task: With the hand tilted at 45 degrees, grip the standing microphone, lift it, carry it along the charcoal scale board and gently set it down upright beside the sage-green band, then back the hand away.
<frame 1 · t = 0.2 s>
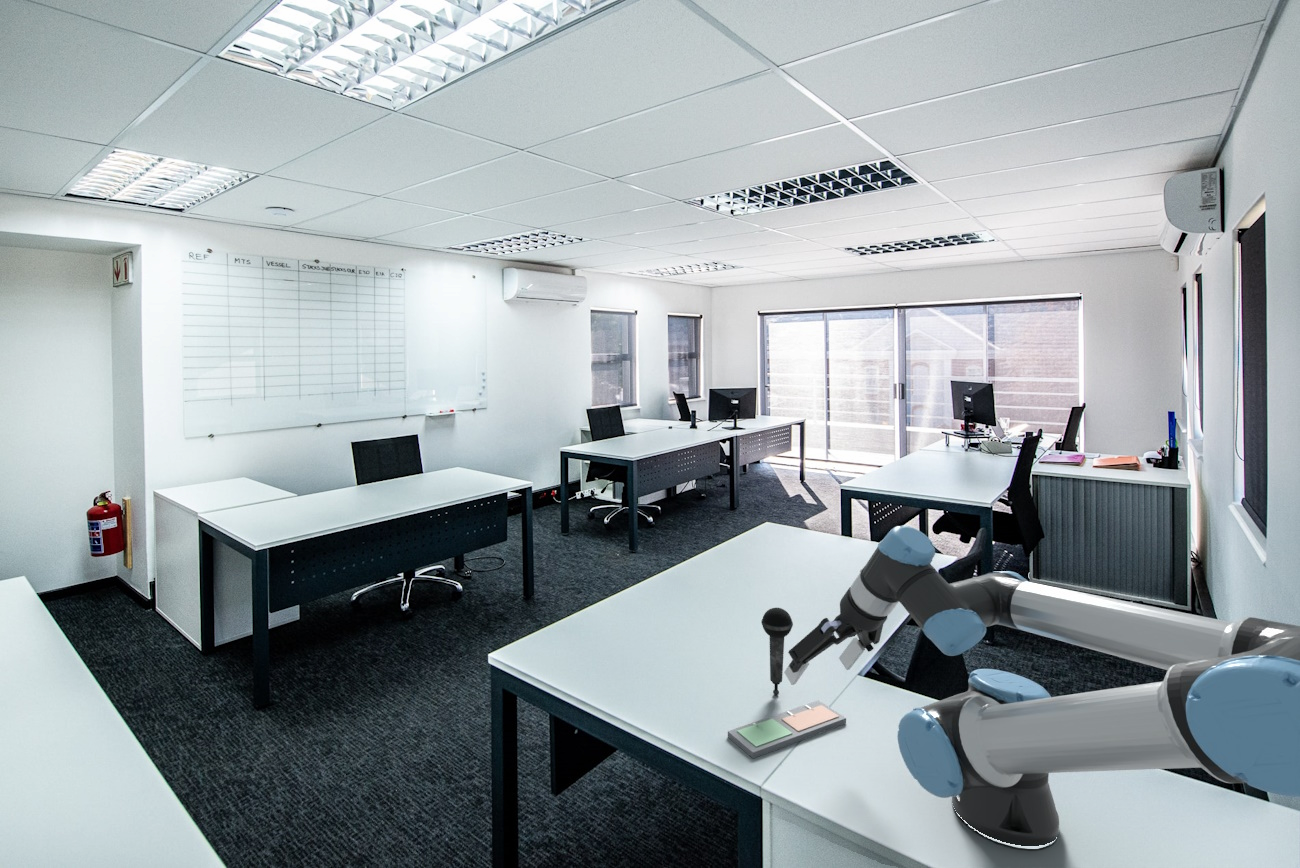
hand: (817, 670, 120), 15 cm above the table, tool tilted 35°, fingers open, 13 cm apart
microphone: (775, 695, 141), on the table
scale board: (787, 730, 127), on the table
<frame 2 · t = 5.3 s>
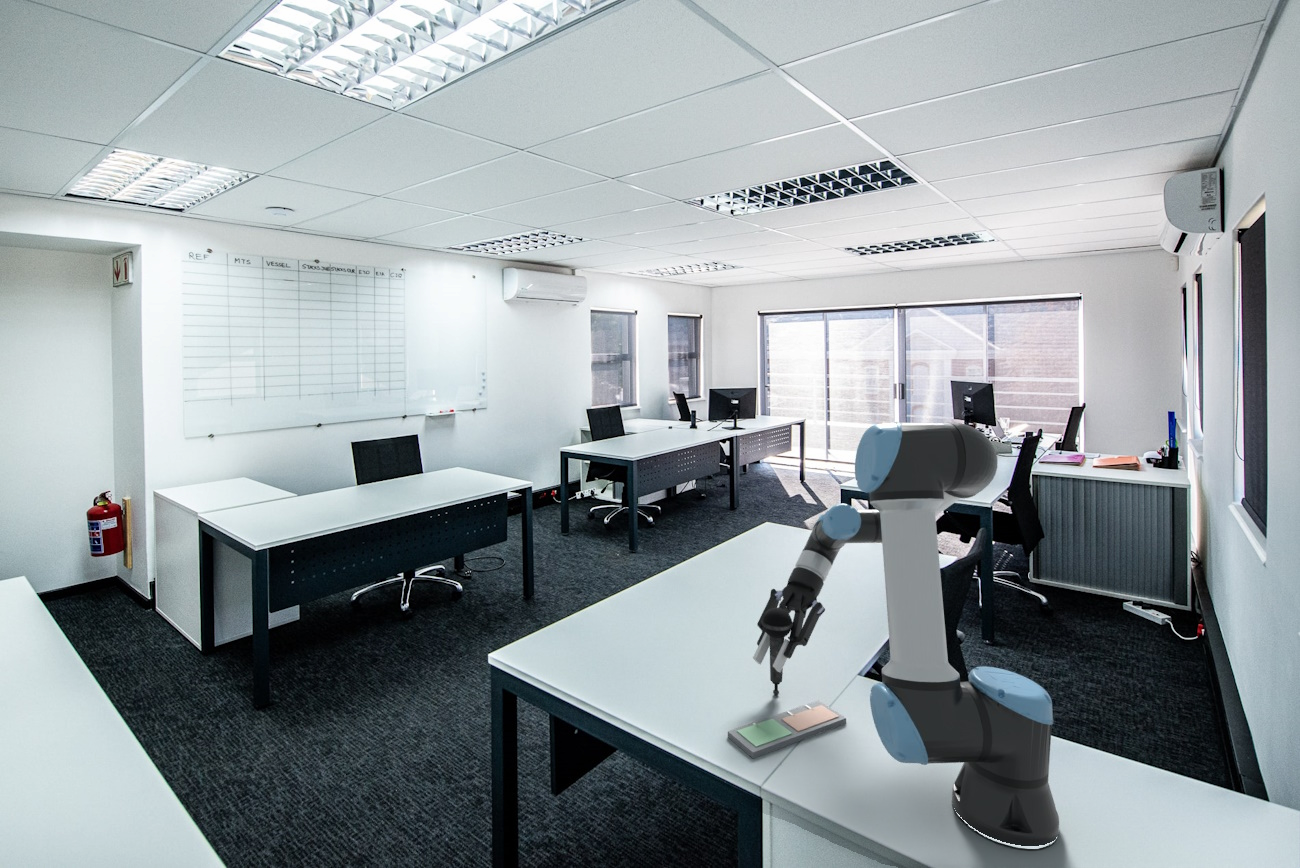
hand: (766, 665, 137), 8 cm above the table, tool tilted 45°, fingers closed on microphone, 5 cm apart
microphone: (776, 695, 141), on the table, touching gripper
when the fingers open (8 cm above the table, at t = 11.4 s): microphone stays where it is, on the table.
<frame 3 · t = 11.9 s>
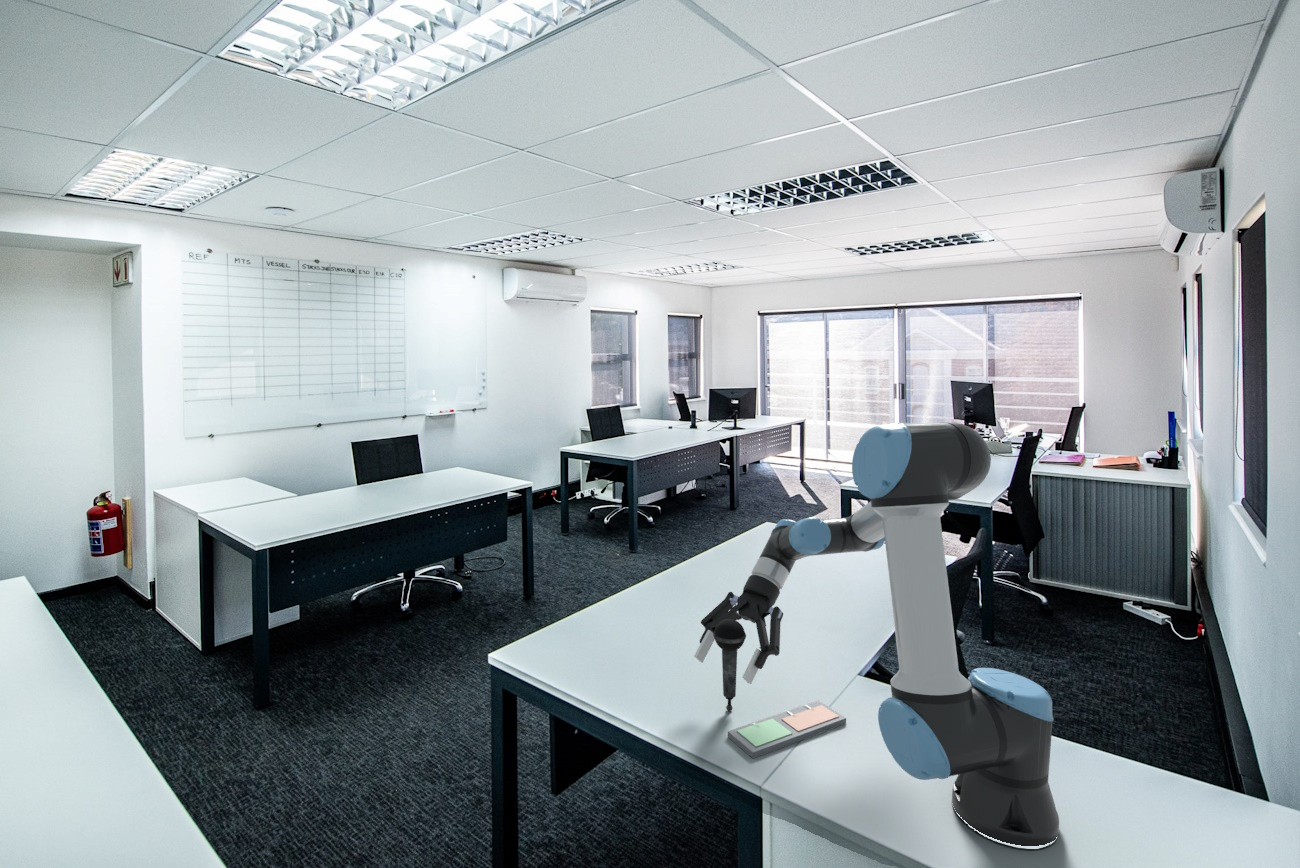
hand: (721, 670, 132), 10 cm above the table, tool tilted 45°, fingers open, 12 cm apart
microphone: (729, 711, 134), on the table
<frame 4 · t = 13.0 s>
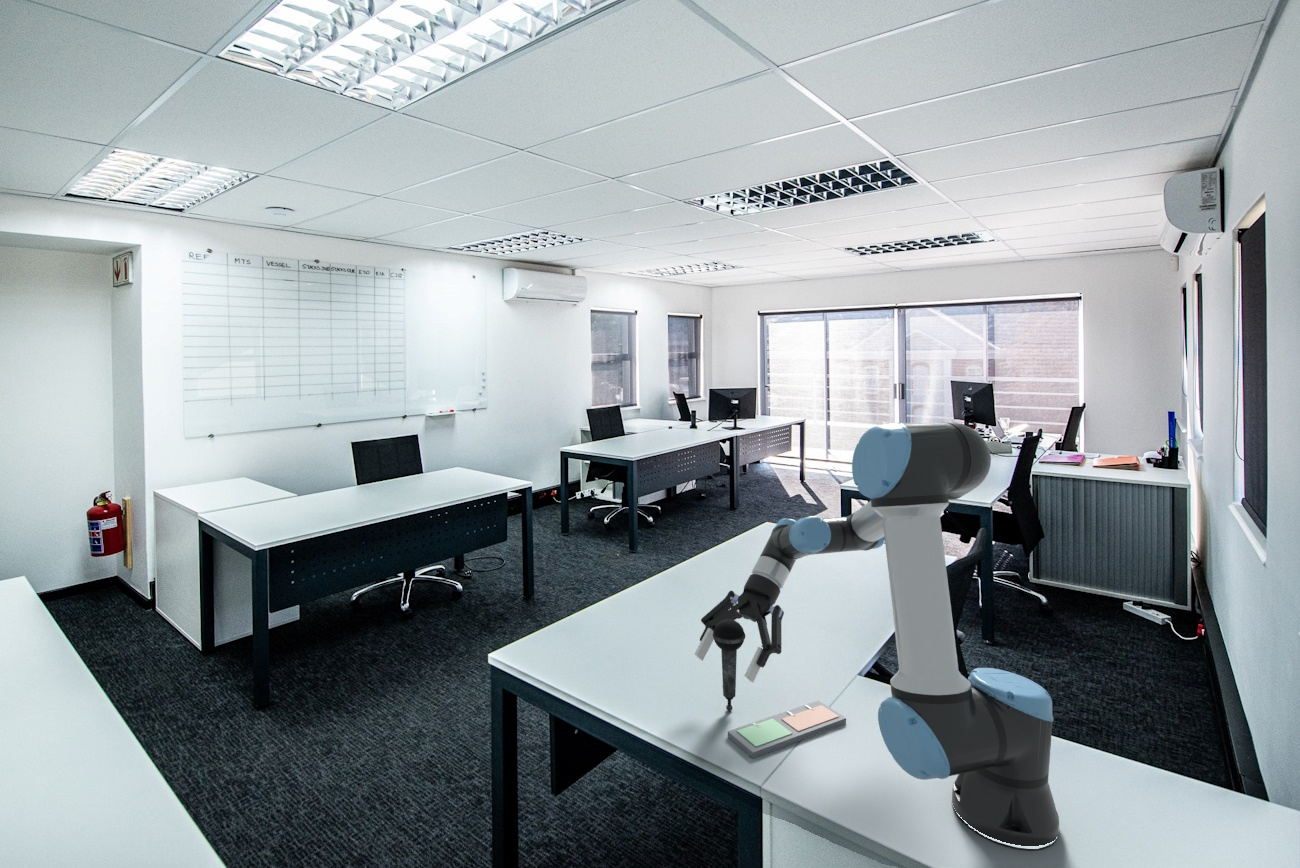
hand: (722, 668, 132), 10 cm above the table, tool tilted 45°, fingers open, 13 cm apart
nothing on the table moved.
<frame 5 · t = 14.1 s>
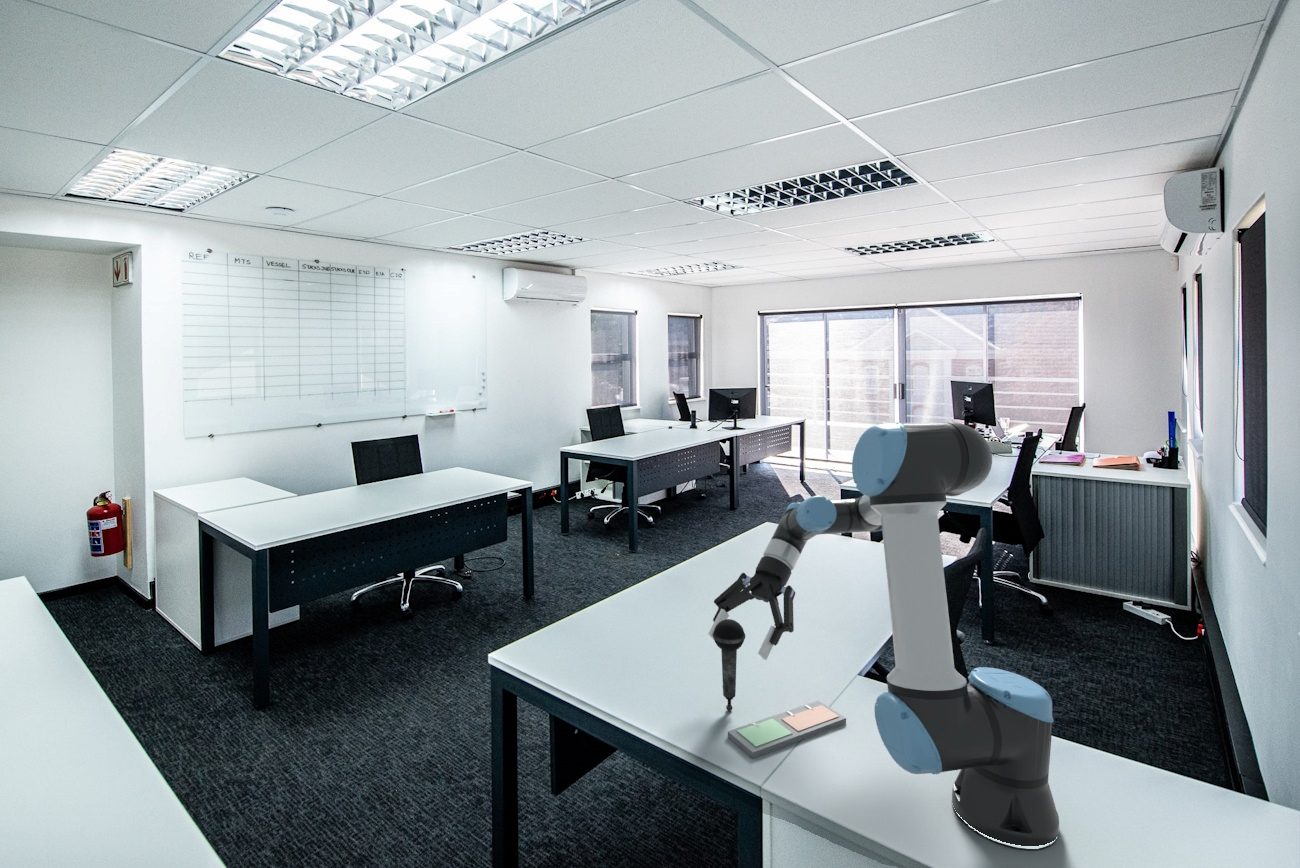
hand: (736, 646, 136), 13 cm above the table, tool tilted 45°, fingers open, 13 cm apart
nothing on the table moved.
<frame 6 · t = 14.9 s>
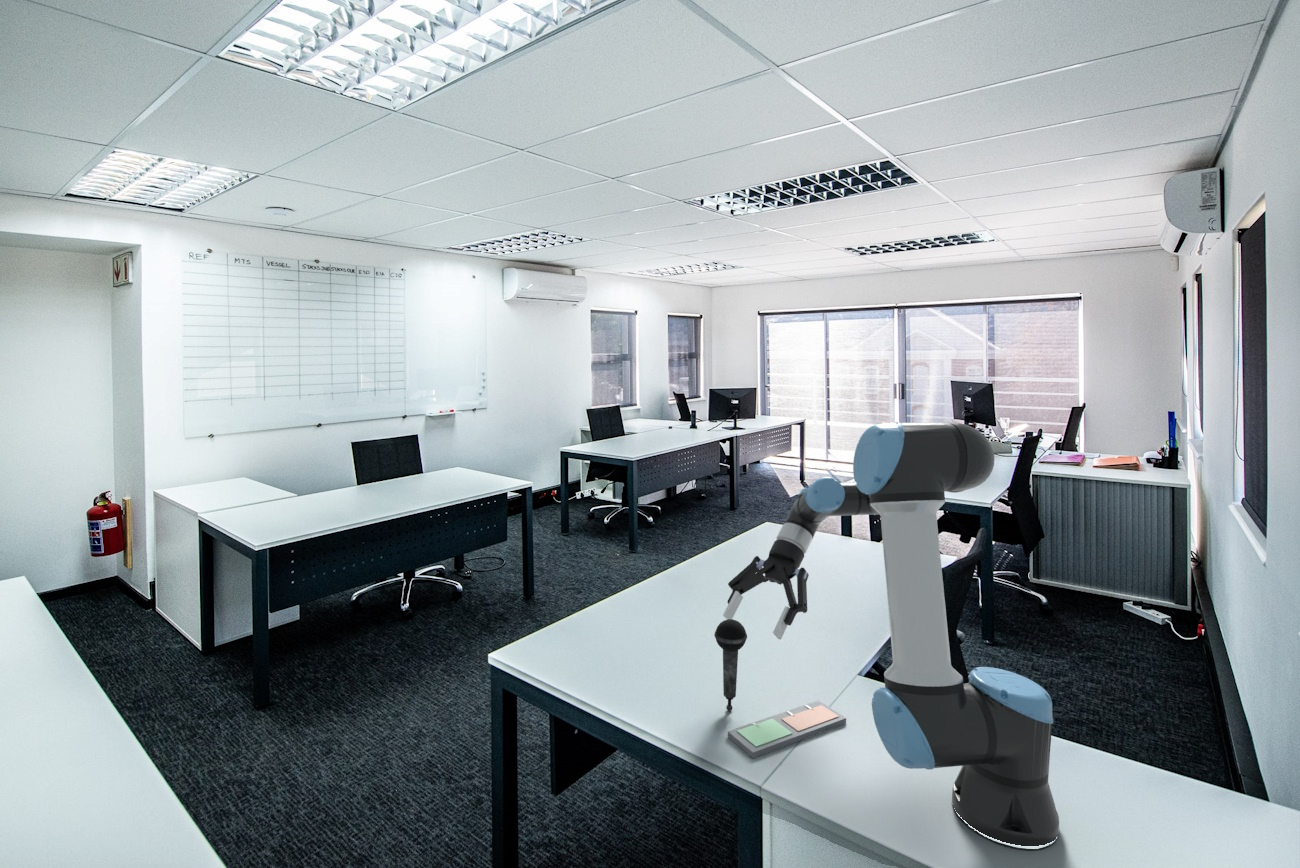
hand: (750, 627, 139), 16 cm above the table, tool tilted 45°, fingers open, 13 cm apart
nothing on the table moved.
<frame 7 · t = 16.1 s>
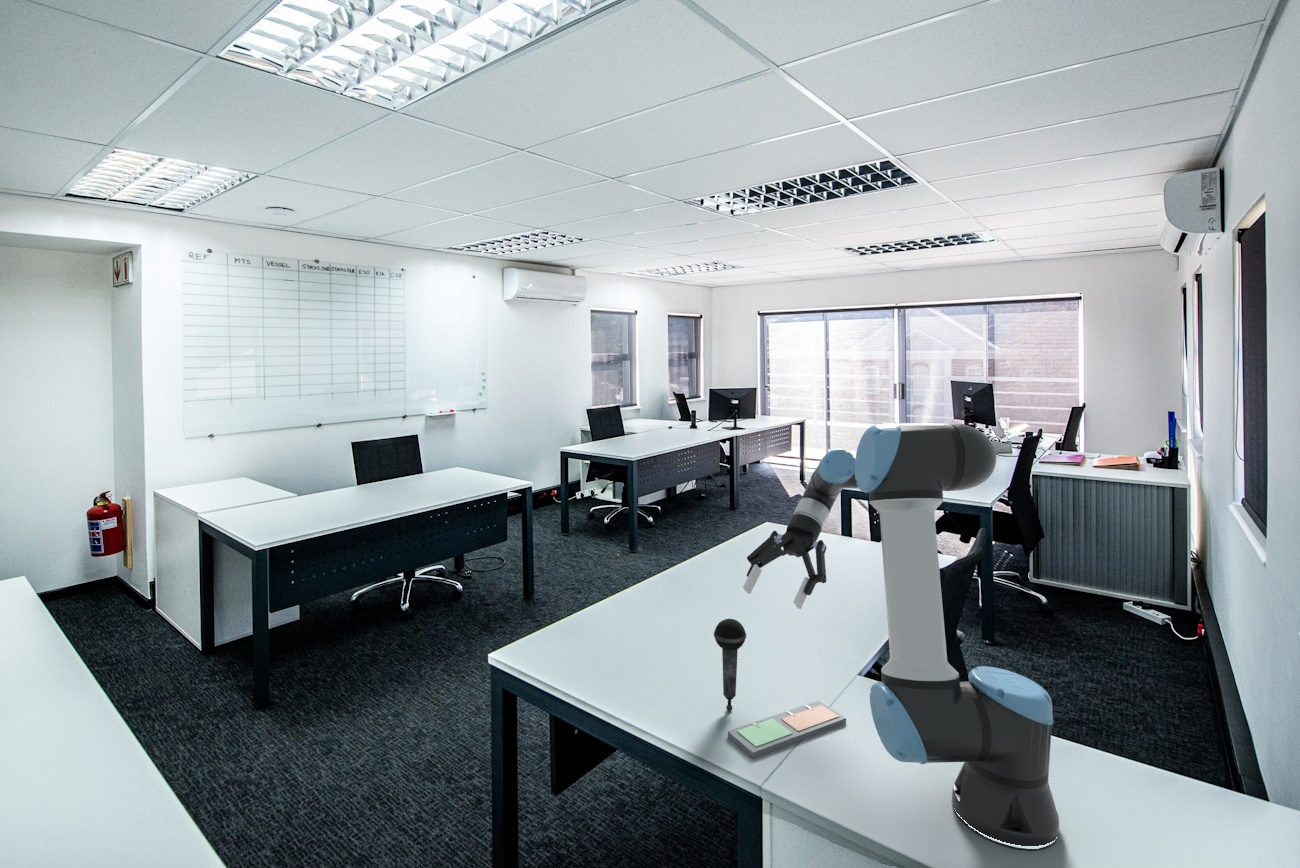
hand: (770, 598, 142), 21 cm above the table, tool tilted 45°, fingers open, 13 cm apart
nothing on the table moved.
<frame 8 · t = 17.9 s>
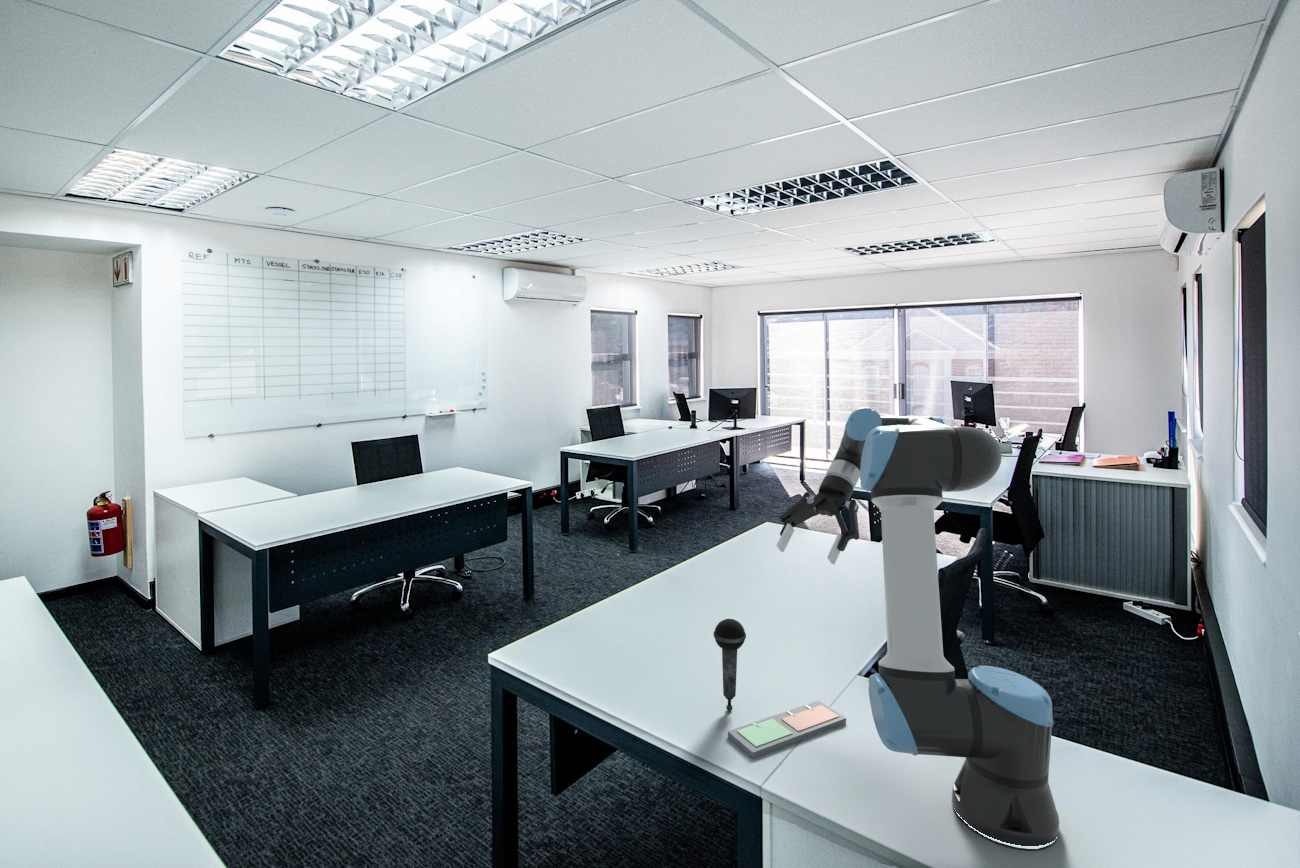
hand: (804, 554, 146), 30 cm above the table, tool tilted 45°, fingers open, 13 cm apart
nothing on the table moved.
at the end: microphone 0.2 cm from the target spot, on the table; microphone tilted 1°; the gripper is holding nothing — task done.
